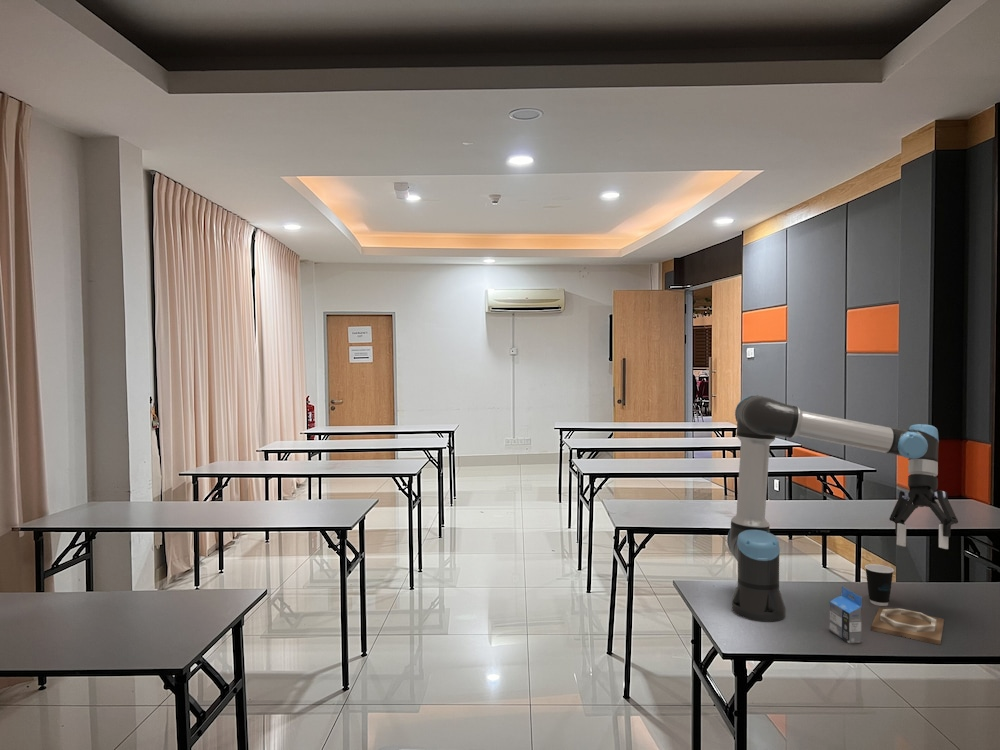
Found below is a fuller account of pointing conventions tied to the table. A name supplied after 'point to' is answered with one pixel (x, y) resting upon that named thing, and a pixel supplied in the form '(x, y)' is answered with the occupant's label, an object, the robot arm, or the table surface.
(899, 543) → the robot arm
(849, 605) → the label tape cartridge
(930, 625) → the board
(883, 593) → the dixie cup
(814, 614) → the table surface
